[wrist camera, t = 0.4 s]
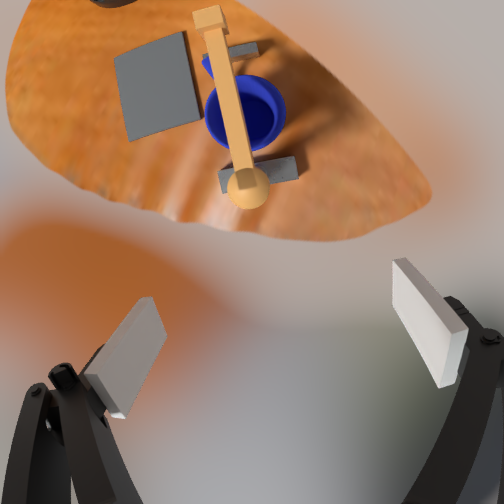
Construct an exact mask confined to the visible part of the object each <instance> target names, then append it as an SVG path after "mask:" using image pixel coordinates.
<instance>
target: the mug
mask: <svg viewBox="0 0 504 504" xmlns="http://www.w3.org/2000/svg"><path fill="white" fill-rule="evenodd" d="M202 65H203V66H204V67H205V69H206V70H207V71H208V73H209V74H210V76H211V77H212V78H213V79H214V77H213V72H212V68H211V63H210V59H209V56H208V57H206V58H205V59H203V60H202ZM235 79H236V83H237V88H238V92H239V96H240V101H241V105H242V110H243V114H244V119H245V123H246V127H247V132H248V137H249V141H250V146H251V150H252V151H255V150H259V149H261V148H263V147H265V146H267V145H269V144H270V143H271V142H273V141H274V140H275V139H276V138H277V136H278V135H279V134H280V132H281V130H282V128H283V126H284V123H285V118H286V107H285V103H284V100H283V97H282V95H281V94H280V92H279V91H278V89H277V88H276V87H275V86H274V85H273V84H271V83H270V82H269V81H267V80H265V79H263V78H261V77H258V76H253V75H239V76H235ZM205 121H206V125H207V128H208V130H209V132H210V134H211V135H212V137H213V138H214V139H215V140H216V141H217V142H218V143H220V144H221V145H222V146H224V147H226V148H228V149H230V148H229V144H228V139H227V135H226V130H225V126H224V121H223V117H222V112H221V108H220V103H219V99H218V94H217V90H216V88H215V89H214V90H213V91H212V92H211V94H210V96H209V98H208V100H207V103H206V106H205Z"/></svg>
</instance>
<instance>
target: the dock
mask: <svg viewBox="0 0 504 504" xmlns="http://www.w3.org/2000/svg"><path fill="white" fill-rule="evenodd" d="M228 49H229V53H230V58H231V62H232V63H233V62H238V61H242V60H247V59H251V58H256V57H260V56H259V52H258V48H257V44H256V42H252V43H247V44H243V45H238V46H234V47H229V48H228ZM208 56H209V54H208V53H206V54H203V59H205V58H206V57H208ZM254 164H255V167H257V168H259V169H261V170H262V171H264V172H265V174H266V175H267V177H268V179H269V182H270V184H274V183H279V182H285V181H290V180H296V179H299V177H298V171H297V166H296V161H295V156H288V157H283V158H277V159H272V160H267V161H261V162H256V163H254ZM217 172H218V176H219V181H220V185H221V189H222V194H224V193H228V192H227V185H228V181H229V179H230V177H231V176H232V175H233V174H234V173H235V171H234V167H232V168H228V169H223V170H220V171H217Z"/></svg>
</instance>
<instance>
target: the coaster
mask: <svg viewBox="0 0 504 504" xmlns="http://www.w3.org/2000/svg"><path fill="white" fill-rule="evenodd" d="M114 63H115V70H116V76H117V82H118V88H119V94H120V100H121V105H122V111H123V116H124V121H125V126H126V131H127V135H128V140H129V142H131V141H134V140H137V139H140V138H142V137H145V136H148V135H151V134H154V133H157V132H161V131H164V130H167V129H170V128H173V127H177V126H180V125H183V124H187V123H190V122H194V121H198V120H201V116H200V111H199V107H198V102H197V97H196V93H195V88H194V83H193V79H192V74H191V69H190V65H189V60H188V55H187V50H186V45H185V41H184V36H183V32H179V33H176V34H173V35H170V36H167V37H164V38H161V39H159V40H156V41H153V42H151V43H148V44H146V45H143V46H141V47H138V48H136V49H133V50H131V51H129V52H126V53H124V54H122V55H120V56H117V57H115V58H114Z"/></svg>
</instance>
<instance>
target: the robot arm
mask: <svg viewBox="0 0 504 504" xmlns="http://www.w3.org/2000/svg"><path fill="white" fill-rule="evenodd" d="M90 1H91V2H93V3H95V4H96V5H98V6H100V7H104V8H116V7H121V6H124V5H127V4H130V3H132V2H134V1H136V0H90ZM392 304H393V307H394V309H395V310H396V312H397V314H398V315H399V317H400V319H401V320H402V322H403V324H404V326H405V327H406V329H407V331H408V333H409V334H410V336H411V338H412V340H413V341H414V343H415V345H416V347H417V348H418V350H419V352H420V354H421V356H422V358H423V359H424V361H425V363H426V365H427V367H428V369H429V371H430V373H431V375H432V377H433V378H434V380H435V382H436V384H437V386H438V388H442V387H445V386H448V385H451V384H454V383H455V380H456V377H457V373H458V374H459V375H460V377H461V381H460V385H459V387H458V390H457V393H456V396H455V398H454V401H453V404H452V406H451V409H450V412H449V414H448V416H447V419H446V421H445V423H444V426H443V428H442V430H441V432H440V435H439V437H438V439H437V441H436V443H435V445H434V448H433V450H432V451H431V453H430V455H429V457H428V459H427V461H426V463H425V465H424V467H423V469H422V470H421V472H420V474H419V476H418V478H417V479H416V481H415V483H414V485H413V486H412V488H411V490H410V491H409V493H408V494H407V496H406V498H405V499H404V501H403V502H402V504H456V502H457V500H458V498H459V496H460V493H461V491H462V489H463V487H464V485H465V483H466V480H467V478H468V475H469V473H470V471H471V468H472V466H473V463H474V460H475V458H476V455H477V452H478V449H479V447H480V444H481V441H482V437H483V434H484V431H485V428H486V424H487V421H488V417H489V414H490V410H491V406H492V402H493V398H494V394H495V389H496V388H501V390H502V406H503V454H502V468H501V479H500V487H499V495H498V501H497V504H504V337H503V336H502V335H501V334H500V333H499V332H498V331H496V330H493V329H488V328H483V327H482V326H481V324H479V322H478V321H477V320H476V319H475V318H474V316H473V315H472V314H471V313H469V311H468V310H467V309H466V308H465V306H464V305H463V304H462V303H461V302H460V301H459V300H457V299H455V298H453V297H451V296H449V297H445V298H442V296H441V295H440V294H439V293H438V292H437V291H436V290H435V289H434V287H433V286H432V285H431V284H430V283H429V282H428V281H427V280H426V279H425V278H424V276H423V275H422V274H421V273H420V272H419V271H418V270H417V269H416V268H415V267H414V266H413V265H412V264H411V263H410V262H409V261H408V260H407V259H406V258H401V259H396V260H393V303H392ZM166 338H167V334H166V332H165V329H164V327H163V324H162V322H161V319H160V316H159V314H158V311H157V309H156V306H155V303H154V301H153V298H152V297H144V298H140V299H139V301H138V302H137V303H136V304H135V306H134V307H133V308H132V309H131V311H130V312H129V313H128V315H127V316H126V317H125V319H124V320H123V321H122V322H121V324H120V325H119V326H118V328H117V329H116V330H115V332H114V333H113V335H112V336H111V337H110V338H109V340H108V341H107V342H106V343H105V344H103V345H102V346H101V347H100V348H98V349H97V351H96V352H95V353H94V355H93V357H91V359H90V360H89V362H88V363H87V364H86V365H85V367H84V368H83V370H82V371H81V372H80V374H79V375H77V374H76V372H75V370H74V369H73V367H72V365H71V364H70V363H61V364H59V365H57V366H55V367H54V368H53V369H52V370H51V371H50V372H49V375H48V377H49V379H50V380H51V382H52V383H53V385H54V387H55V388H56V389H55V390H49V389H48V388H47V387H46V385H45V384H44V383H37V384H34V385H33V386H31V387H30V388H29V389H28V391H27V393H26V395H25V398H24V401H23V405H22V408H21V411H20V415H19V418H18V422H17V425H16V429H15V433H14V437H13V441H12V445H11V450H10V454H9V459H8V464H7V470H6V475H5V481H4V487H3V494H2V503H1V504H71V477H72V481H73V485H74V489H75V493H76V496H77V500H78V503H79V504H143V502H142V500H141V499H140V496H139V495H138V493H137V490H136V488H135V486H134V484H133V482H132V480H131V478H130V476H129V473H128V471H127V469H126V466H125V464H124V462H123V459H122V457H121V455H120V452H119V450H118V447H117V445H116V443H115V440H114V437H113V434H112V432H111V429H110V426H109V423H108V421H107V418H106V417H105V416H104V412H105V410H106V409H107V410H108V411H109V413H110V414H111V416H112V417H116V418H123V419H126V417H127V415H128V413H129V411H130V409H131V407H132V405H133V403H134V401H135V399H136V397H137V395H138V393H139V391H140V389H141V387H142V385H143V383H144V381H145V379H146V377H147V375H148V373H149V371H150V369H151V367H152V365H153V363H154V361H155V359H156V357H157V355H158V353H159V352H160V350H161V348H162V346H163V344H164V342H165V340H166ZM46 424H47V425H48V429H47V426H46Z"/></svg>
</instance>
